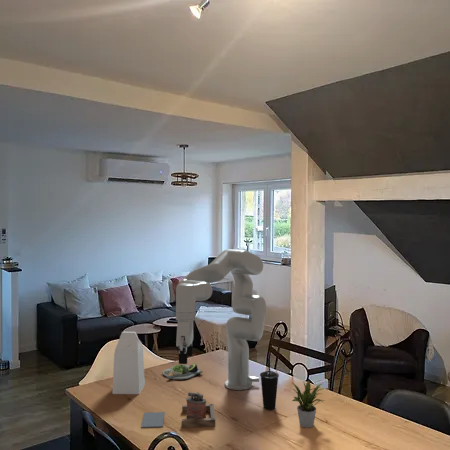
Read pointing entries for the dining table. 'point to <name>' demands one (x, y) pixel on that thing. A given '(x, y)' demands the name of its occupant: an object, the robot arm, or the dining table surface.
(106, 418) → the dining table surface
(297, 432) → the dining table surface
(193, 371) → the salad plate
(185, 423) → the walnut stand
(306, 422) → the house plant
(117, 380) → the milk
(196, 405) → the lighter
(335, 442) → the dining table surface
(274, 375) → the drinking cup
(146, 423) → the grey mat
